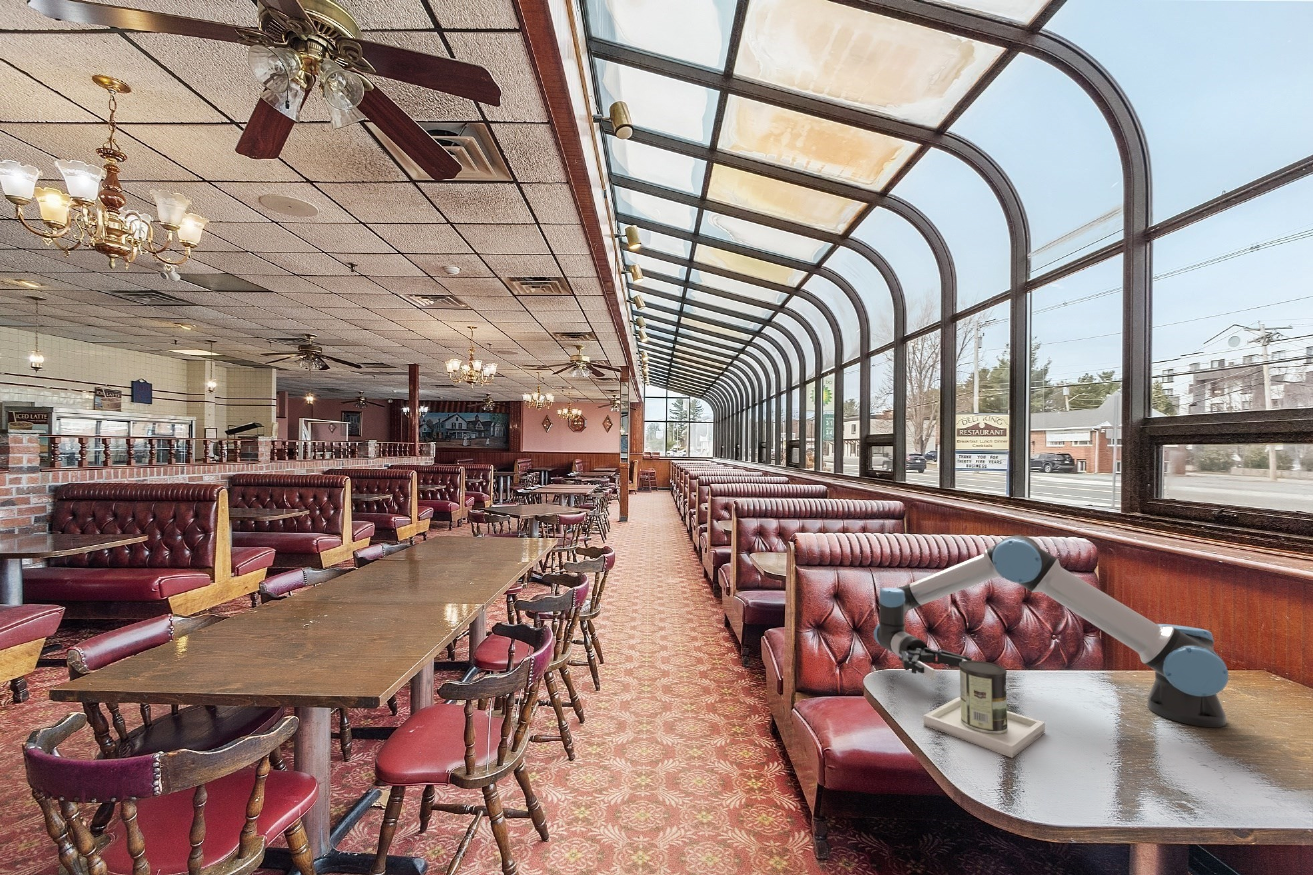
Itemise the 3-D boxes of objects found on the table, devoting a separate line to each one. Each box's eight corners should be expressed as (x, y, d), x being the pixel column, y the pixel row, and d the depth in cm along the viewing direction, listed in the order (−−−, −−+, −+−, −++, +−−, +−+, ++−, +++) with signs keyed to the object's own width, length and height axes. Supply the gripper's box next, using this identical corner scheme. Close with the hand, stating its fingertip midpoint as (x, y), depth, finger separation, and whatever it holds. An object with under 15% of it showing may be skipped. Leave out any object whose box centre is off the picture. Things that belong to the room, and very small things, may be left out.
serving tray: (1044, 732, 139) (1044, 722, 140) (1012, 757, 127) (1012, 746, 127) (960, 705, 155) (959, 696, 155) (923, 725, 143) (923, 715, 143)
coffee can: (998, 717, 145) (997, 661, 146) (1015, 736, 135) (1013, 675, 136) (954, 713, 147) (953, 658, 148) (967, 731, 137) (966, 672, 138)
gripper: (947, 659, 174) (999, 685, 153) (871, 662, 170) (913, 690, 149) (947, 634, 174) (998, 657, 153) (871, 637, 171) (913, 661, 150)
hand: (956, 673), depth 151 cm, fingers open, 13 cm apart
